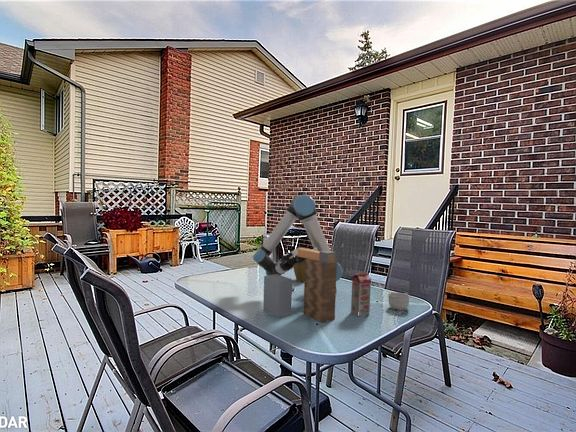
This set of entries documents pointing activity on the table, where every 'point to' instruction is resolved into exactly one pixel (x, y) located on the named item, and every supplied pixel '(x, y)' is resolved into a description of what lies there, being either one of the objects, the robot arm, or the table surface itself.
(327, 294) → the walnut stand
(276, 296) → the grey stand
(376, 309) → the table surface
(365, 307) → the juice carton
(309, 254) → the brown block
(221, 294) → the table surface
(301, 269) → the plant pot
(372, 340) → the table surface
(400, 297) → the teacup
